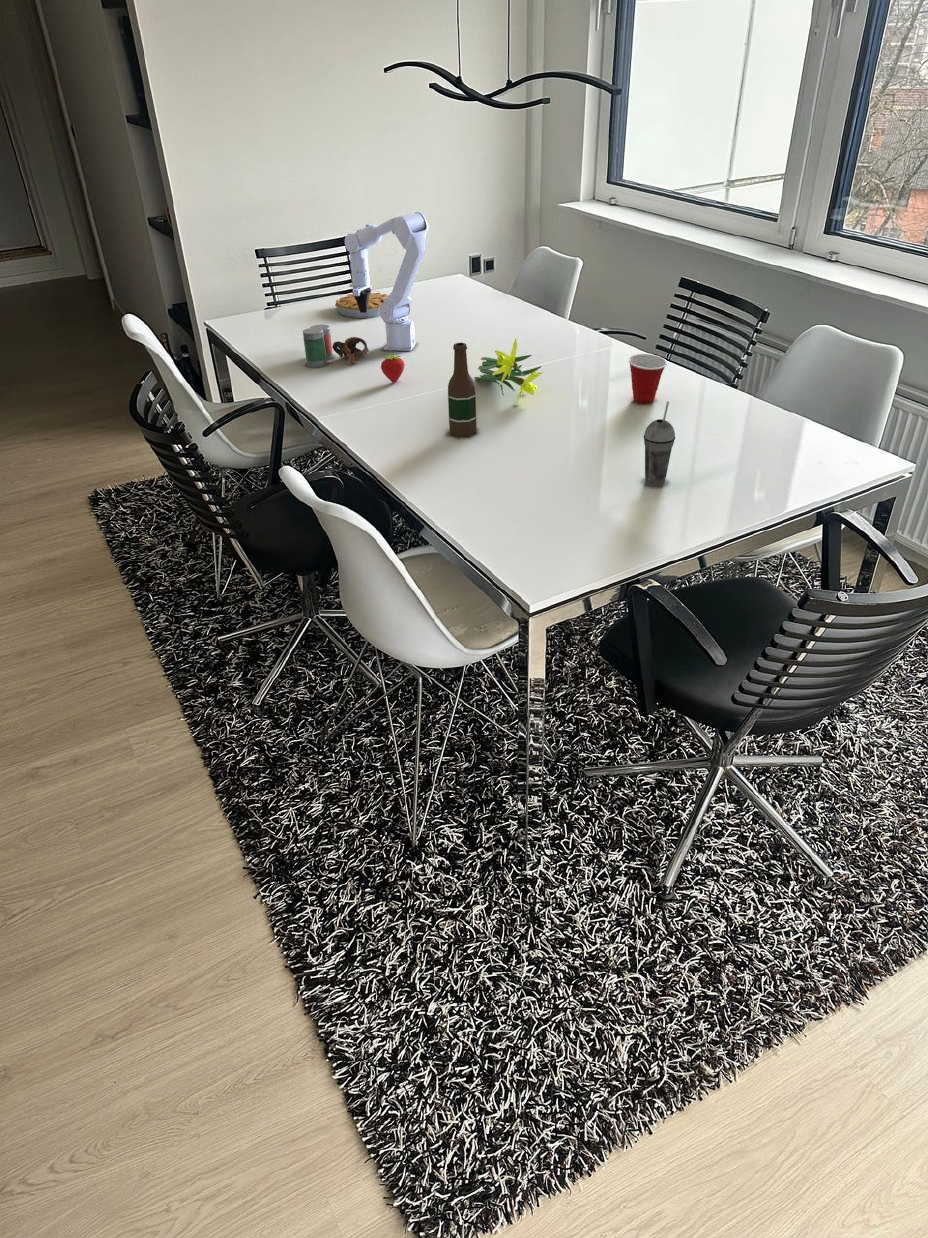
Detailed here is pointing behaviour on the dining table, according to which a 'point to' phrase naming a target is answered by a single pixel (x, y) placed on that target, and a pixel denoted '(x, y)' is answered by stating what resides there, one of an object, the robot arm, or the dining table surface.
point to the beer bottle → (461, 396)
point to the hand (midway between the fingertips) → (363, 312)
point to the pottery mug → (351, 349)
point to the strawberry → (392, 367)
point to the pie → (351, 309)
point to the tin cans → (317, 345)
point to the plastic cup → (646, 376)
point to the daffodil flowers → (509, 371)
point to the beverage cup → (658, 450)
